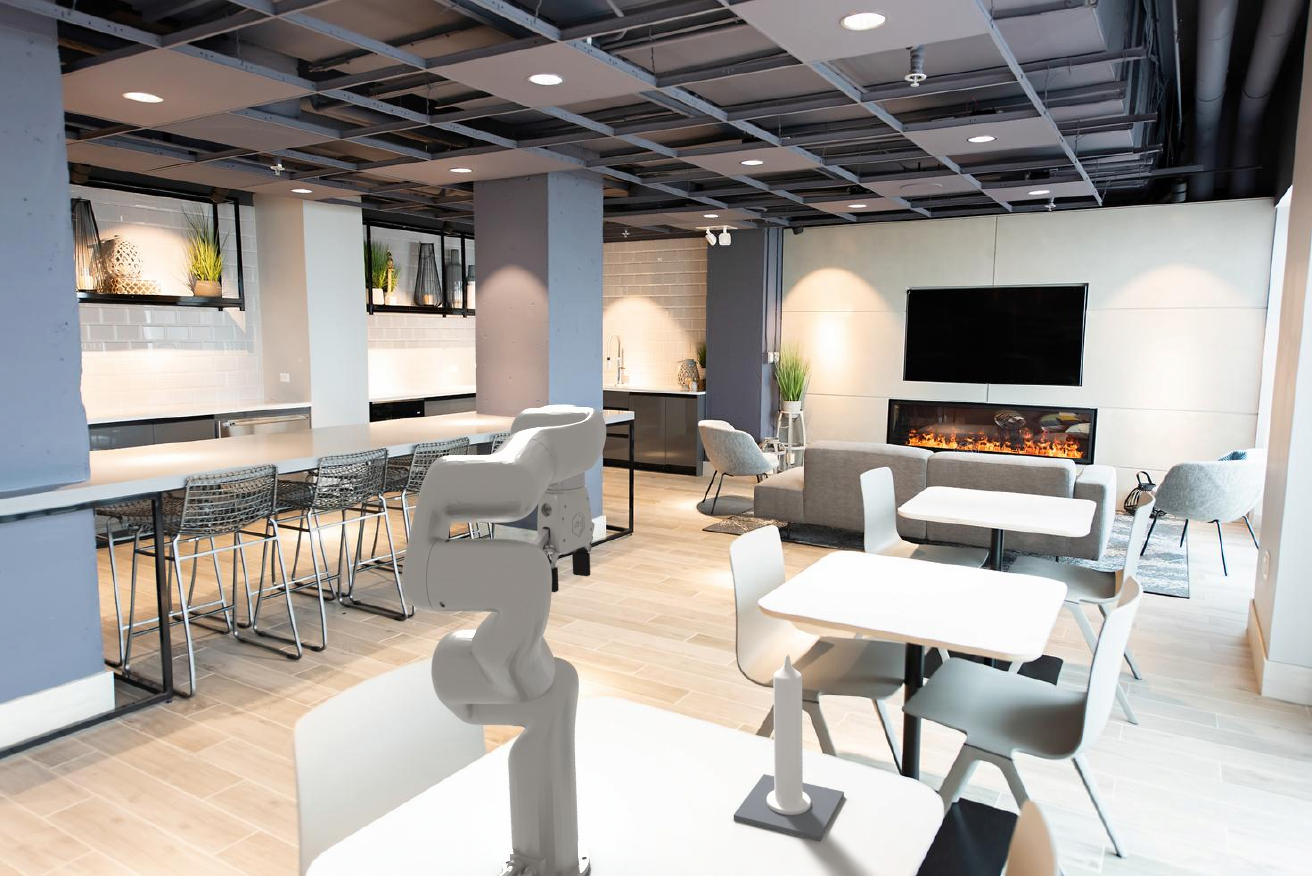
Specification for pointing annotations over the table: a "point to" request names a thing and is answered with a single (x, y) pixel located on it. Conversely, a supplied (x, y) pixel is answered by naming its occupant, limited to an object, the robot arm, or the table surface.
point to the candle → (788, 743)
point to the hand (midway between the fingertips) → (566, 582)
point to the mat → (801, 824)
